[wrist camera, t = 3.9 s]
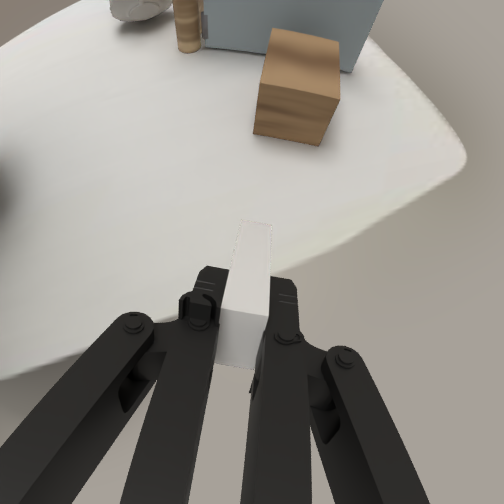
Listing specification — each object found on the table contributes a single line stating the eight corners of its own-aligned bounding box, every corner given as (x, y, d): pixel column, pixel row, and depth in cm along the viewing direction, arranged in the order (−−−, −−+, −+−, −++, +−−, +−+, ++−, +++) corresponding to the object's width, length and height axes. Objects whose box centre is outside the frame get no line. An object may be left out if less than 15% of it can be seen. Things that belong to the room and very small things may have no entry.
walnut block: (318, 146, 32) (340, 99, 24) (252, 134, 32) (259, 82, 24) (321, 88, 34) (338, 41, 27) (264, 77, 34) (272, 27, 26)
